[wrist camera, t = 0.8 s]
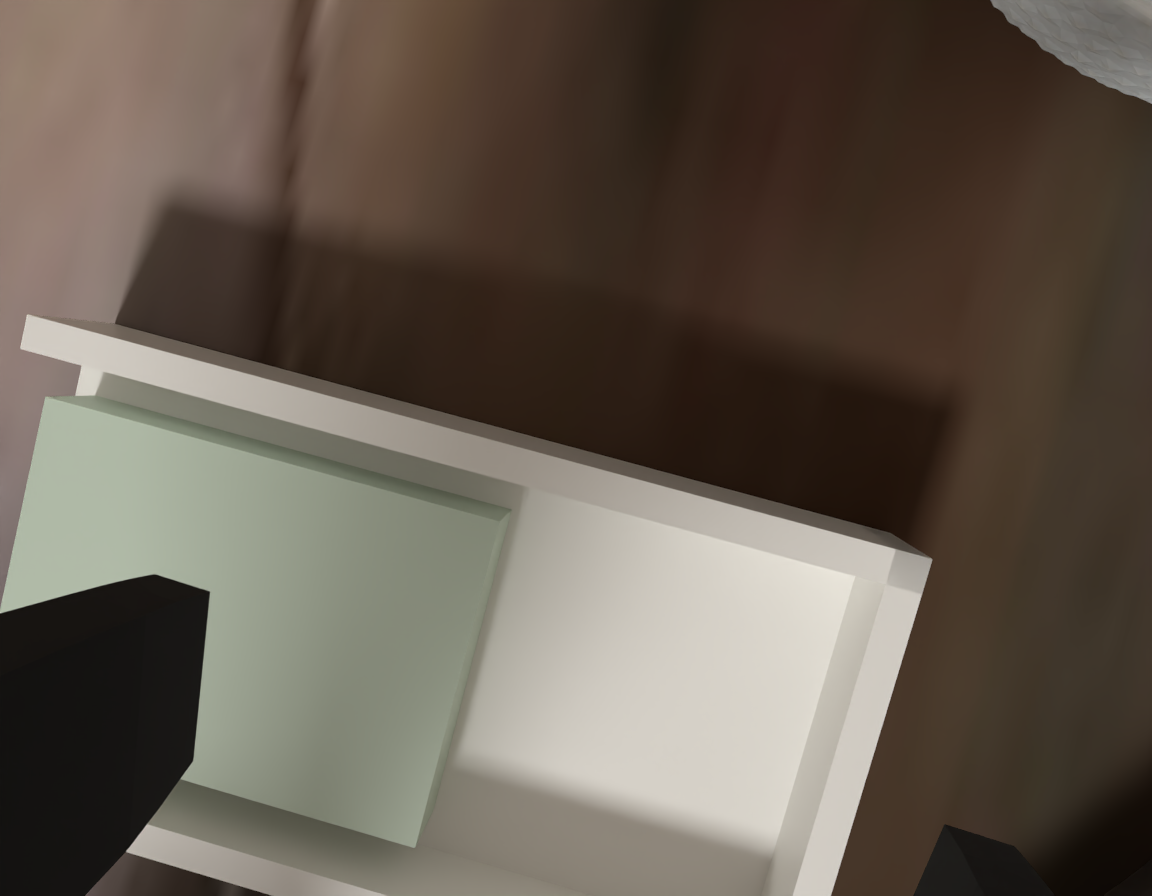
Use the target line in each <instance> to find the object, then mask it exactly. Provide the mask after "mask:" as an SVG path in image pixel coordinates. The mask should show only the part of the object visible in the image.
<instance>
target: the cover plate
mask: <svg viewBox="0 0 1152 896" xmlns="http://www.w3.org/2000/svg"><path fill="white" fill-rule="evenodd" d="M511 511H512V509H508V508H505V507H501V506H497V505H494V504H490V503H486V502H483V501H479V500H475V499H472V498H468V497H464V496H461V495H457V494H453V493H450V492H446V491H442V490H439V489H435V488H432V487H428V486H424V485H421V484H417V483H413V482H410V481H406V480H402V479H399V478H395V477H391V476H388V475H384V474H380V473H377V472H373V471H369V470H366V469H362V468H359V467H355V466H351V465H348V464H344V463H340V462H337V461H333V460H329V459H326V458H322V457H318V456H315V455H311V454H307V453H304V452H300V451H296V450H293V449H289V448H286V447H282V446H278V445H275V444H271V443H267V442H264V441H260V440H256V439H253V438H249V437H245V436H242V435H238V434H234V433H231V432H227V431H223V430H220V429H216V428H213V427H209V426H205V425H202V424H198V423H194V422H191V421H187V420H183V419H180V418H176V417H172V416H169V415H165V414H161V413H158V412H154V411H150V410H147V409H143V408H140V407H136V406H132V405H129V404H125V403H121V402H118V401H114V400H110V399H107V398H103V397H99V396H96V395H89V396H54V397H45V402H44V406H43V411H42V416H41V420H40V425H39V430H38V434H37V439H36V444H35V448H34V453H33V458H32V463H31V467H30V472H29V477H28V481H27V486H26V491H25V495H24V500H23V505H22V510H21V514H20V519H19V524H18V528H17V533H16V538H15V542H14V547H13V552H12V557H11V561H10V566H9V571H8V575H7V580H6V585H5V589H4V594H3V599H2V603H1V608H0V613H3V612H7V611H11V610H14V609H18V608H21V607H25V606H29V605H32V604H36V603H39V602H43V601H47V600H50V599H54V598H57V597H61V596H65V595H68V594H72V593H76V592H79V591H83V590H87V589H91V588H94V587H98V586H102V585H106V584H110V583H114V582H118V581H123V580H127V579H132V578H137V577H142V576H147V575H153V574H156V575H159V576H163V577H166V578H169V579H172V580H175V581H178V582H182V583H185V584H188V585H191V586H194V587H197V588H201V589H204V590H207V591H210V598H209V608H208V619H207V629H206V639H205V649H204V659H203V669H202V679H201V689H200V699H199V709H198V719H197V729H196V739H195V749H194V759H193V762H192V763H191V765H190V766H189V768H188V769H187V770H186V772H185V773H184V775H183V776H182V777H181V780H185V781H188V782H191V783H195V784H198V785H202V786H205V787H208V788H212V789H215V790H219V791H222V792H225V793H229V794H232V795H236V796H239V797H242V798H246V799H249V800H253V801H256V802H259V803H263V804H266V805H270V806H273V807H276V808H280V809H283V810H287V811H290V812H293V813H297V814H300V815H304V816H307V817H310V818H314V819H317V820H321V821H324V822H327V823H331V824H334V825H338V826H341V827H344V828H348V829H351V830H355V831H358V832H361V833H365V834H368V835H372V836H375V837H378V838H382V839H385V840H389V841H392V842H395V843H399V844H402V845H406V846H409V847H412V848H415V847H416V845H417V843H418V841H419V839H420V837H421V835H422V833H423V831H424V829H425V827H426V825H427V823H428V821H429V819H430V817H431V814H432V812H433V810H434V807H435V803H436V799H437V796H438V792H439V788H440V784H441V780H442V776H443V773H444V769H445V765H446V761H447V757H448V753H449V750H450V746H451V742H452V738H453V734H454V730H455V726H456V723H457V719H458V715H459V711H460V707H461V703H462V700H463V696H464V692H465V688H466V684H467V680H468V677H469V673H470V669H471V665H472V661H473V657H474V653H475V650H476V646H477V642H478V638H479V634H480V630H481V627H482V623H483V619H484V615H485V611H486V607H487V604H488V600H489V596H490V592H491V588H492V584H493V580H494V577H495V573H496V569H497V565H498V561H499V557H500V554H501V550H502V546H503V542H504V538H505V534H506V531H507V527H508V523H509V519H510V515H511Z"/></svg>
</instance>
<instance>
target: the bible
mask: <svg viewBox="0 0 1152 896" xmlns="http://www.w3.org/2000/svg"><path fill="white" fill-rule="evenodd" d="M1104 896H1152V859H1150V860H1149V861H1148V862H1147V863H1146V864H1145V865H1143V866H1142V867H1141V868H1140V869H1139V870H1137V871H1136V872H1135V873H1133V874H1132V875H1131V876H1129V877H1128V878H1127V879H1125V880H1124V881H1123V882H1121V883H1120V884H1118V885H1117V886H1116V887H1114V888H1113V889H1111V890H1110V891H1108V892H1107V893H1106V894H1105V895H1104Z"/></svg>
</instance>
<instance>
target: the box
mask: <svg viewBox="0 0 1152 896" xmlns="http://www.w3.org/2000/svg"><path fill="white" fill-rule="evenodd" d="M20 349H23V350H27V351H30V352H34V353H38V354H41V355H45V356H49V357H52V358H56V359H60V360H63V361H67V362H71V363H74V364H78V365H82V367H81V372H80V376H79V381H78V386H77V390H76V395H75V396H89V395H96V396H99V397H103V398H107V399H110V400H114V401H118V402H121V403H125V404H129V405H132V406H136V407H140V408H143V409H147V410H150V411H154V412H158V413H161V414H165V415H169V416H172V417H176V418H180V419H183V420H187V421H191V422H194V423H198V424H202V425H205V426H209V427H213V428H216V429H220V430H223V431H227V432H231V433H234V434H238V435H242V436H245V437H249V438H253V439H256V440H260V441H264V442H267V443H271V444H275V445H278V446H282V447H286V448H289V449H293V450H296V451H300V452H304V453H307V454H311V455H315V456H318V457H322V458H326V459H329V460H333V461H337V462H340V463H344V464H348V465H351V466H355V467H359V468H362V469H366V470H369V471H373V472H377V473H380V474H384V475H388V476H391V477H395V478H399V479H402V480H406V481H410V482H413V483H417V484H421V485H424V486H428V487H432V488H435V489H439V490H442V491H446V492H450V493H453V494H457V495H461V496H464V497H468V498H472V499H475V500H479V501H483V502H486V503H490V504H494V505H497V506H501V507H505V508H508V509H512V511H511V515H510V519H509V523H508V527H507V531H506V534H505V538H504V542H503V546H502V550H501V554H500V557H499V561H498V565H497V569H496V573H495V577H494V580H493V584H492V588H491V592H490V596H489V600H488V604H487V607H486V611H485V615H484V619H483V623H482V627H481V630H480V634H479V638H478V642H477V646H476V650H475V653H474V657H473V661H472V665H471V669H470V673H469V677H468V680H467V684H466V688H465V692H464V696H463V700H462V703H461V707H460V711H459V715H458V719H457V723H456V726H455V730H454V734H453V738H452V742H451V746H450V750H449V753H448V757H447V761H446V765H445V769H444V773H443V776H442V780H441V784H440V788H439V792H438V796H437V799H436V803H435V807H434V810H433V812H432V814H431V817H430V819H429V821H428V823H427V825H426V827H425V829H424V831H423V833H422V835H421V837H420V839H419V841H418V843H417V845H416V847H415V848H412V847H409V846H406V845H402V844H399V843H395V842H392V841H389V840H385V839H382V838H378V837H375V836H372V835H368V834H365V833H361V832H358V831H355V830H351V829H348V828H344V827H341V826H338V825H334V824H331V823H327V822H324V821H321V820H317V819H314V818H310V817H307V816H304V815H300V814H297V813H293V812H290V811H287V810H283V809H280V808H276V807H273V806H270V805H266V804H263V803H259V802H256V801H253V800H249V799H246V798H242V797H239V796H236V795H232V794H229V793H225V792H222V791H219V790H215V789H212V788H208V787H205V786H202V785H198V784H195V783H191V782H188V781H185V780H181V779H180V780H179V781H178V783H177V784H176V786H175V787H174V788H173V790H172V791H171V793H170V794H169V795H168V797H167V798H166V800H165V801H164V802H163V804H162V805H161V807H160V808H159V809H158V811H157V812H156V813H155V815H154V816H153V817H152V818H151V820H150V821H149V822H148V824H147V825H146V826H145V828H144V829H143V830H142V832H141V833H140V834H139V835H138V837H137V838H136V839H135V841H134V842H133V843H132V845H131V846H130V847H129V848H128V850H127V851H126V852H128V853H131V854H135V855H138V856H141V857H145V858H148V859H151V860H155V861H158V862H161V863H165V864H168V865H171V866H175V867H178V868H181V869H185V870H188V871H191V872H195V873H198V874H201V875H205V876H208V877H211V878H215V879H218V880H221V881H225V882H228V883H232V884H235V885H238V886H242V887H245V888H248V889H252V890H255V891H258V892H262V893H265V894H268V895H272V896H831V893H832V890H833V887H834V884H835V880H836V877H837V874H838V870H839V867H840V864H841V860H842V857H843V854H844V850H845V847H846V844H847V841H848V837H849V834H850V831H851V827H852V824H853V821H854V817H855V814H856V811H857V807H858V804H859V801H860V798H861V794H862V791H863V788H864V784H865V781H866V778H867V774H868V771H869V768H870V764H871V761H872V758H873V755H874V751H875V748H876V745H877V741H878V738H879V735H880V731H881V728H882V725H883V721H884V718H885V715H886V712H887V708H888V705H889V702H890V698H891V695H892V692H893V688H894V685H895V682H896V678H897V675H898V672H899V669H900V665H901V662H902V659H903V655H904V652H905V649H906V645H907V642H908V639H909V635H910V632H911V629H912V626H913V622H914V619H915V616H916V612H917V609H918V606H919V602H920V599H921V596H922V592H923V589H924V586H925V583H926V579H927V576H928V573H929V569H930V566H931V563H932V558H930V557H928V556H927V555H925V554H924V553H922V552H920V551H919V550H917V549H915V548H914V547H912V546H911V545H909V544H907V543H906V542H904V541H903V540H901V539H899V538H898V537H896V536H895V535H893V534H891V533H889V532H885V531H881V530H878V529H874V528H870V527H867V526H863V525H859V524H855V523H852V522H848V521H844V520H841V519H837V518H833V517H829V516H826V515H822V514H818V513H815V512H811V511H807V510H804V509H800V508H796V507H792V506H789V505H785V504H781V503H778V502H774V501H770V500H766V499H763V498H759V497H755V496H752V495H748V494H744V493H740V492H737V491H733V490H729V489H726V488H722V487H718V486H715V485H711V484H707V483H703V482H700V481H696V480H692V479H689V478H685V477H681V476H677V475H674V474H670V473H666V472H663V471H659V470H655V469H651V468H648V467H644V466H640V465H637V464H633V463H629V462H625V461H622V460H618V459H614V458H611V457H607V456H603V455H600V454H596V453H592V452H588V451H585V450H581V449H577V448H574V447H570V446H566V445H562V444H559V443H555V442H551V441H548V440H544V439H540V438H536V437H533V436H529V435H525V434H522V433H518V432H514V431H511V430H507V429H503V428H499V427H496V426H492V425H488V424H485V423H481V422H477V421H473V420H470V419H466V418H462V417H459V416H455V415H451V414H447V413H444V412H440V411H436V410H433V409H429V408H425V407H422V406H418V405H414V404H410V403H407V402H403V401H399V400H396V399H392V398H388V397H384V396H381V395H377V394H373V393H370V392H366V391H362V390H358V389H355V388H351V387H347V386H344V385H340V384H336V383H332V382H329V381H325V380H321V379H318V378H314V377H310V376H307V375H303V374H299V373H295V372H292V371H288V370H284V369H281V368H277V367H273V366H269V365H266V364H262V363H258V362H255V361H251V360H247V359H243V358H240V357H236V356H232V355H229V354H225V353H221V352H218V351H214V350H210V349H206V348H203V347H199V346H195V345H192V344H188V343H184V342H180V341H177V340H173V339H169V338H166V337H162V336H158V335H154V334H151V333H147V332H143V331H140V330H136V329H132V328H129V327H125V326H121V325H117V324H114V323H105V322H95V321H86V320H76V319H67V318H57V317H48V316H38V315H29V314H27V318H26V323H25V328H24V333H23V337H22V342H21V347H20Z"/></svg>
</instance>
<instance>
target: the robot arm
mask: <svg viewBox="0 0 1152 896" xmlns="http://www.w3.org/2000/svg"><path fill="white" fill-rule="evenodd" d="M209 598H210V591H207V590H204V589H201V588H197V587H194V586H191V585H188V584H185V583H182V582H178V581H175V580H172V579H169V578H166V577H163V576H159V575H156V574H153V575H147V576H142V577H137V578H132V579H127V580H123V581H118V582H114V583H110V584H106V585H102V586H98V587H94V588H91V589H87V590H83V591H79V592H76V593H72V594H68V595H65V596H61V597H57V598H54V599H50V600H47V601H43V602H39V603H36V604H32V605H29V606H25V607H21V608H18V609H14V610H11V611H7V612H3V613H0V896H85V895H86V894H87V893H88V892H89V891H90V889H91V888H92V887H93V886H94V885H95V884H96V883H97V882H98V881H99V880H100V879H101V878H102V877H103V876H104V875H105V873H106V872H107V871H108V870H109V869H110V868H111V867H112V866H113V865H114V864H115V863H116V862H117V860H118V859H119V858H120V857H121V856H122V855H123V854H124V853H125V852H126V851H127V850H128V848H129V847H130V846H131V845H132V843H133V842H134V841H135V839H136V838H137V837H138V835H139V834H140V833H141V832H142V830H143V829H144V828H145V826H146V825H147V824H148V822H149V821H150V820H151V818H152V817H153V816H154V815H155V813H156V812H157V811H158V809H159V808H160V807H161V805H162V804H163V802H164V801H165V800H166V798H167V797H168V795H169V794H170V793H171V791H172V790H173V788H174V787H175V786H176V784H177V783H178V781H179V780H180V779H181V777H182V776H183V775H184V773H185V772H186V770H187V769H188V768H189V766H190V765H191V763H192V762H193V759H194V749H195V739H196V729H197V719H198V709H199V699H200V689H201V679H202V669H203V659H204V649H205V639H206V629H207V619H208V608H209ZM914 896H1055V895H1054V894H1053V892H1052V891H1051V890H1050V889H1049V887H1048V886H1047V885H1046V884H1045V882H1044V881H1043V880H1042V878H1041V877H1040V876H1039V875H1038V874H1037V872H1036V871H1035V870H1034V869H1033V867H1032V866H1031V865H1030V864H1029V863H1028V861H1027V860H1026V859H1025V858H1024V857H1023V856H1022V855H1021V853H1020V852H1019V851H1018V850H1017V849H1016V848H1015V847H1014V846H1012V845H1009V844H1005V843H1002V842H999V841H996V840H993V839H990V838H986V837H983V836H980V835H977V834H974V833H971V832H967V831H964V830H961V829H958V828H955V827H952V826H949V825H944V827H943V829H942V831H941V834H940V836H939V838H938V841H937V843H936V845H935V848H934V850H933V852H932V854H931V857H930V859H929V861H928V864H927V866H926V868H925V870H924V873H923V875H922V877H921V880H920V882H919V884H918V887H917V889H916V891H915V893H914Z"/></svg>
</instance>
